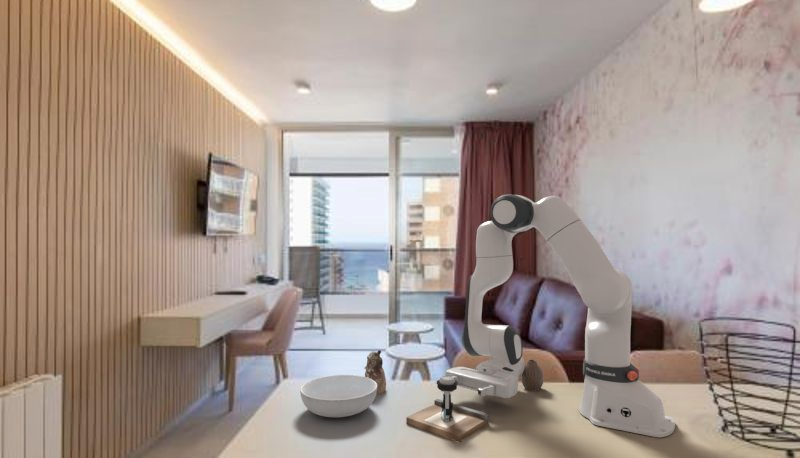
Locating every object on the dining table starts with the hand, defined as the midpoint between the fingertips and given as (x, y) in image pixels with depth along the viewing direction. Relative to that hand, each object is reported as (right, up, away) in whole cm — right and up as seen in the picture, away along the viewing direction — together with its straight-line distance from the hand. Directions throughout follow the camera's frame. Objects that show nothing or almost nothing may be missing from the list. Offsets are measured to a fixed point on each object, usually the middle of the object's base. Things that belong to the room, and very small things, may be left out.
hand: (464, 388), depth 119 cm
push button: (-5, -5, -7) cm, 10 cm away
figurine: (-25, -7, +18) cm, 32 cm away
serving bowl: (-34, -7, +2) cm, 35 cm away
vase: (+24, -8, +20) cm, 33 cm away
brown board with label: (-6, -7, -7) cm, 11 cm away
